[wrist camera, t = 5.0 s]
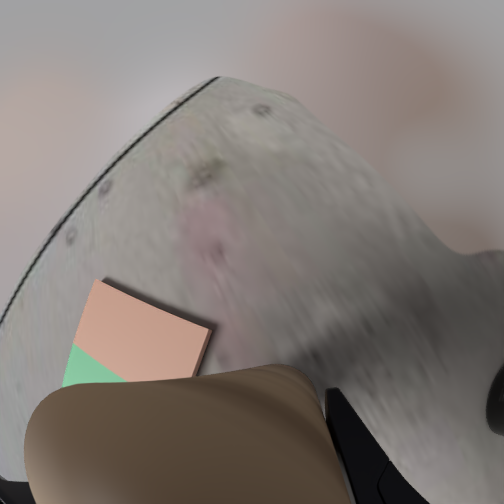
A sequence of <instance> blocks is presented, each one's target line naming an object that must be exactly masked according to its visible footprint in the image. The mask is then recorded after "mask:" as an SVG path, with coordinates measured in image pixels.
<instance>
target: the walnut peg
mask: <svg viewBox="0 0 504 504" xmlns="http://www.w3.org/2000/svg"><path fill="white" fill-rule="evenodd" d="M24 461H25V468H26V474H27V478H28V482H29V485H30V489H31V491H32V494H33V497H34V499H35V502H36V504H351V501H350V497H349V494H348V491H347V487H346V484H345V481H344V478H343V474H342V471H341V468H340V465H339V462H338V458H337V455H336V452H335V449H334V446H333V443H332V439H331V436H330V433H329V430H328V427H327V424H326V421H325V418H324V415H323V412H322V409H321V405H320V402H319V399H318V396H317V393H316V390H315V388H314V386H313V384H312V382H311V381H310V380H309V379H308V377H307V376H306V375H304V374H303V373H302V372H301V371H299V370H297V369H295V368H293V367H290V366H287V365H282V364H270V365H264V366H259V367H254V368H248V369H243V370H237V371H231V372H225V373H218V374H211V375H204V376H196V377H187V378H178V379H167V380H154V381H138V382H104V383H80V384H74V385H70V386H66V387H62V388H60V389H59V390H57V391H55V392H53V393H51V394H49V395H48V396H47V397H46V398H45V399H44V400H42V401H41V402H40V404H39V405H38V406H37V408H36V409H35V410H34V412H33V414H32V416H31V418H30V420H29V422H28V426H27V430H26V434H25V442H24Z"/></svg>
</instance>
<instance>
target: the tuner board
mask: <svg viewBox="0 0 504 504" xmlns="http://www.w3.org/2000/svg"><path fill="white" fill-rule="evenodd" d="M211 333H212V330H210V329H207V328H205V327H202V326H200V325H197V324H195V323H192V322H190V321H187V320H185V319H182V318H180V317H177V316H175V315H173V314H170V313H168V312H166V311H163V310H161V309H159V308H156V307H154V306H152V305H150V304H147V303H145V302H143V301H141V300H139V299H136V298H134V297H132V296H130V295H128V294H126V293H124V292H122V291H120V290H117V289H115V288H113V287H111V286H109V285H107V284H105V283H103V282H101V281H99V280H97V279H95V281H94V284H93V286H92V289H91V292H90V294H89V297H88V300H87V302H86V305H85V308H84V311H83V314H82V317H81V320H80V323H79V326H78V329H77V332H76V335H75V338H74V342H73V345H72V349H71V352H70V356H69V360H68V363H67V367H66V371H65V375H64V380H63V384H62V387H66V386H70V385H74V384H80V383H104V382H138V381H154V380H167V379H178V378H187V377H196V374H197V372H198V369H199V366H200V363H201V360H202V358H203V355H204V352H205V349H206V347H207V344H208V341H209V338H210V336H211Z"/></svg>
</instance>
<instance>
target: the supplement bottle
mask: <svg viewBox="0 0 504 504" xmlns="http://www.w3.org/2000/svg"><path fill="white" fill-rule="evenodd" d="M486 418H487V423H488V425H489V428H490V429H491V430H492V431H493V432H494V433H496V434H498V435H502V436H504V367H503V368H502V369H501V370H500V372H499V373H498V375H497V376H496V378H495V380H494V382H493V384H492V387H491V389H490V392H489V396H488V400H487V406H486Z"/></svg>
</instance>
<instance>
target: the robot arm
mask: <svg viewBox="0 0 504 504" xmlns="http://www.w3.org/2000/svg"><path fill="white" fill-rule="evenodd" d="M325 415H326V424H327V427H328V430H329V433H330V436H331V439H332V443H333V446H334V449H335V452H336V455H337V458H338V462H339V465H340V468H341V471H342V474H343V478H344V481H345V484H346V487H347V491H348V494H349V497H350V501H351V504H430V503H429V502H427V501H426V500H425V499H424V498H423V497H422V496H421V495H420V494H419V493H418V492H417V491H416V490H415V489H414V488H413V487H412V486H411V485H410V484H409V483H408V482H407V481H406V480H405V479H404V477H403V476H402V475H401V473H400V472H399V471H398V470H397V468H396V467H395V466H394V464H393V463H392V462H391V461H389V458H388V456H387V455H386V453H385V452H384V451H383V449H382V448H381V447H380V445H379V444H378V442H377V441H376V440H375V438H374V437H373V435H372V434H371V433H370V431H369V430H368V428H367V427H366V426H365V424H364V423H363V422H362V420H361V419H360V417H359V416H358V415H357V413H356V412H355V410H354V409H353V408H352V406H351V405H350V403H349V402H348V401H347V399H346V398H345V396H344V395H343V393H342V392H341V391H340V389H339V388H337V387H334V388H327V389H326V391H325ZM0 504H36V502H35V499H34V497H33V494H32V491H31V489H30V485H29V482H16V481H7V480H6V479H4V478H3V477H2V476H0Z"/></svg>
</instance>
